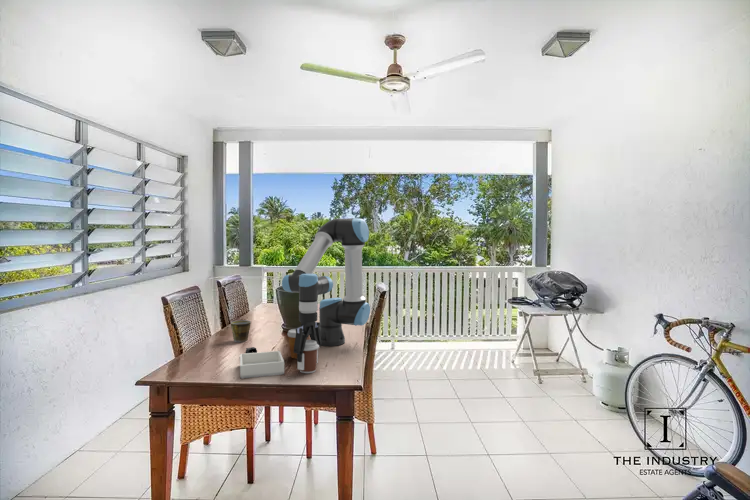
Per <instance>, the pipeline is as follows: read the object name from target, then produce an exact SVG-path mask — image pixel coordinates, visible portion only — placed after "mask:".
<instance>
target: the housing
mask: <svg viewBox="0 0 750 500" xmlns="http://www.w3.org/2000/svg"><path fill="white" fill-rule="evenodd" d="M239 357H240V358H239V373H240V379H250V378H251V379H253V378H260V377H269V376H270V377H271V376H278V375H285V360H284V357H283V356H282V352H281V350H273V351H261V352H257V353H240V354H239Z"/></svg>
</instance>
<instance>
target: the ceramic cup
mask: <svg viewBox="0 0 750 500" xmlns="http://www.w3.org/2000/svg"><path fill="white" fill-rule="evenodd" d="M251 324H252V323H251V321H250V320H246V319H244V320H242V319H241V320H234V321H231V322H230V329H231V333H232V337H233V341H234V342H235V343H245V342H247V341H248V340H249V335H250V330H251V329H250V328H251Z"/></svg>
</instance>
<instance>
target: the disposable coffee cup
mask: <svg viewBox="0 0 750 500" xmlns="http://www.w3.org/2000/svg"><path fill="white" fill-rule="evenodd" d="M303 335H304V334H303ZM286 336H287V337H288V343H289V344H288V345H289V353H290V358H291V359H294V360H295V359H296V360H297V353H294V352H293V351H294V344H295V337H296V328H292V329H289V330H288V331H287V335H286Z"/></svg>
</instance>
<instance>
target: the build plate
mask: <svg viewBox="0 0 750 500" xmlns="http://www.w3.org/2000/svg"><path fill="white" fill-rule="evenodd" d="M246 353H258V350H257V348H256V347H254V346H251V347H246V349H245V352H244V354H246ZM239 359H240V356H239Z"/></svg>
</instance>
